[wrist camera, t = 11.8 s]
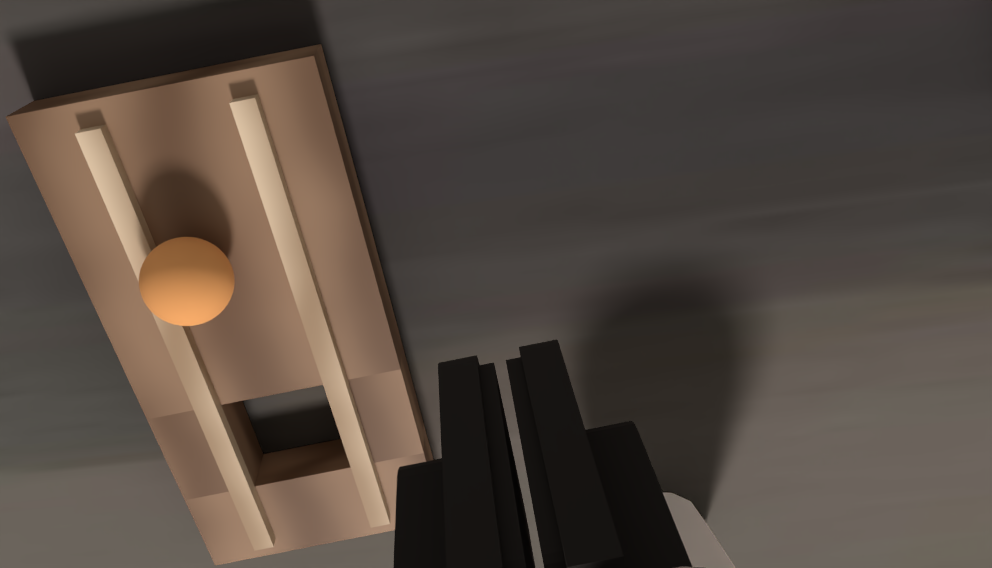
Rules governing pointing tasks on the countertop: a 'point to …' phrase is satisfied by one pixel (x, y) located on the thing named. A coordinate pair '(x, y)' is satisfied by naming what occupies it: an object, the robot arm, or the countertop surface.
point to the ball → (186, 281)
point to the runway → (239, 289)
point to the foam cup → (696, 534)
